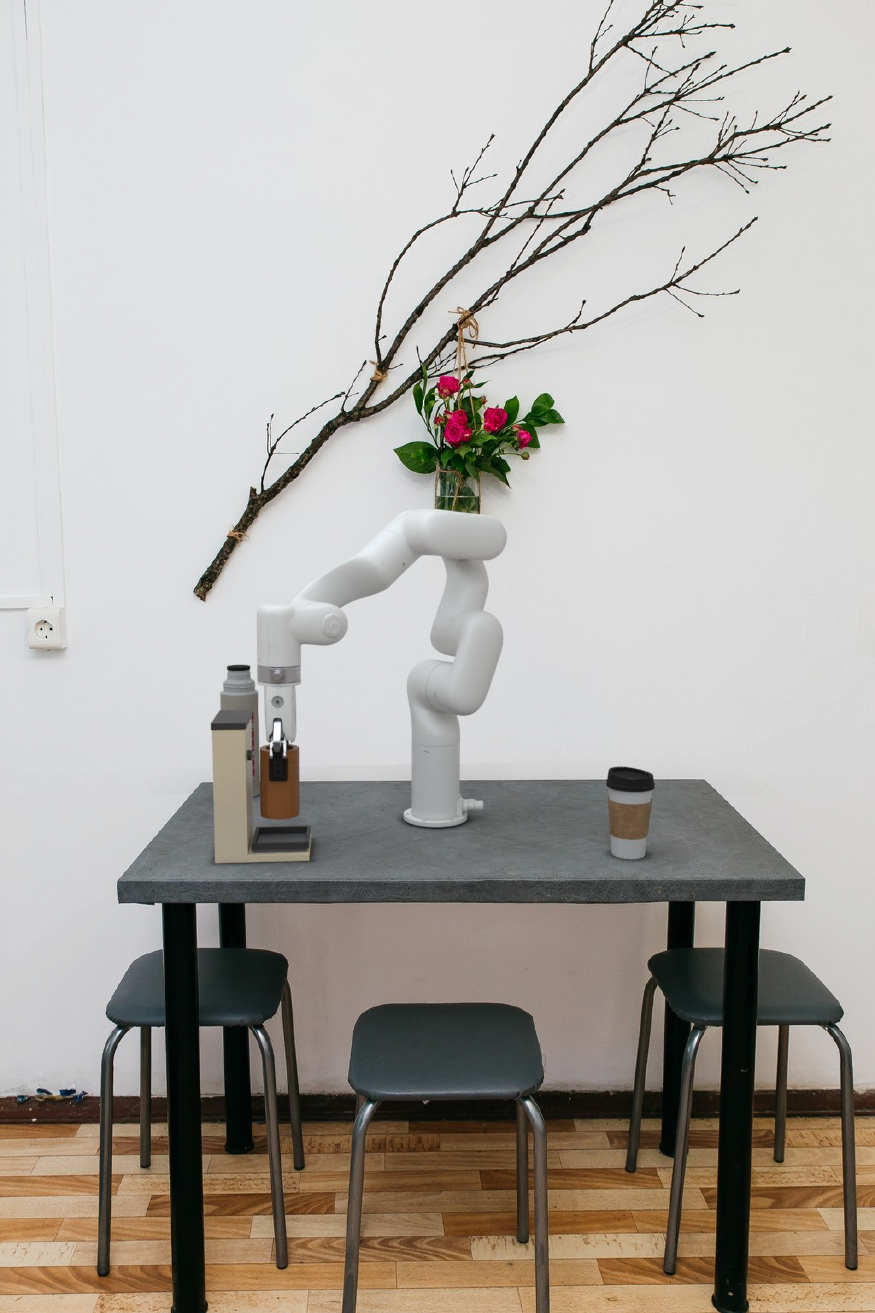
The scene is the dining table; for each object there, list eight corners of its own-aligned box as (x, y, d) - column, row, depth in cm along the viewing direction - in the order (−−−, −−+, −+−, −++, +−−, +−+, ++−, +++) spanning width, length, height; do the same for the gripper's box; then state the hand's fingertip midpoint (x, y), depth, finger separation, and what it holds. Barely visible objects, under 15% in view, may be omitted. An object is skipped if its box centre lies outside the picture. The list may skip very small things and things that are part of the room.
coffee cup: (618, 843, 181) (621, 763, 179) (660, 853, 176) (663, 770, 174) (595, 855, 174) (597, 771, 173) (638, 865, 169) (641, 779, 167)
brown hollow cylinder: (300, 808, 179) (299, 743, 177) (298, 819, 172) (298, 751, 171) (262, 809, 178) (261, 743, 177) (259, 820, 171) (258, 752, 170)
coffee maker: (311, 839, 183) (309, 709, 179) (309, 861, 171) (307, 722, 167) (222, 841, 181) (219, 710, 178) (214, 863, 169) (210, 723, 166)
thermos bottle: (262, 797, 211) (259, 667, 207) (223, 800, 209) (220, 668, 205) (258, 788, 218) (255, 662, 215) (221, 790, 216) (218, 663, 213)
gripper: (298, 682, 164) (299, 787, 166) (302, 668, 181) (303, 764, 183) (252, 682, 163) (254, 788, 165) (261, 668, 180) (262, 764, 182)
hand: (279, 774), depth 174 cm, fingers closed on brown hollow cylinder, 6 cm apart
